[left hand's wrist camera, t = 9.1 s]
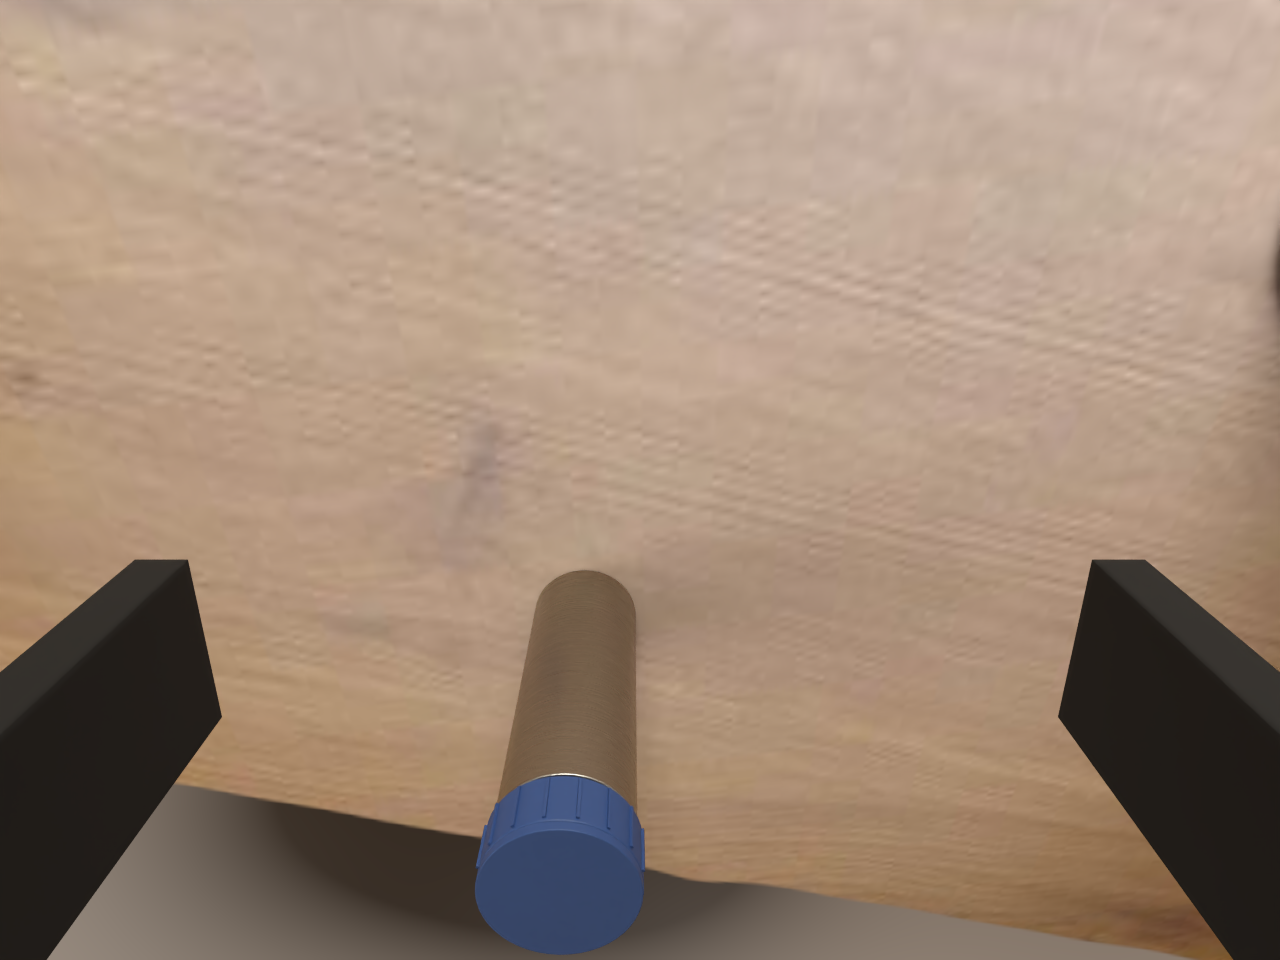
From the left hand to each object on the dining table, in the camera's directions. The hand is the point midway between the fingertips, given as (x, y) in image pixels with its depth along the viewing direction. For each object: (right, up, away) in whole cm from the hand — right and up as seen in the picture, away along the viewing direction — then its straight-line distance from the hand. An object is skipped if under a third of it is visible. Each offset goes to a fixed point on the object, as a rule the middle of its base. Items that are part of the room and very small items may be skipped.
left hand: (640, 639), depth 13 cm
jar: (-3, -4, +28) cm, 28 cm away
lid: (-2, -10, +13) cm, 16 cm away
